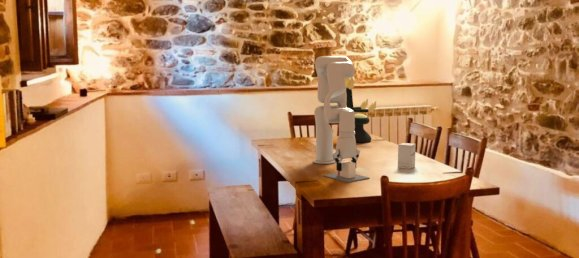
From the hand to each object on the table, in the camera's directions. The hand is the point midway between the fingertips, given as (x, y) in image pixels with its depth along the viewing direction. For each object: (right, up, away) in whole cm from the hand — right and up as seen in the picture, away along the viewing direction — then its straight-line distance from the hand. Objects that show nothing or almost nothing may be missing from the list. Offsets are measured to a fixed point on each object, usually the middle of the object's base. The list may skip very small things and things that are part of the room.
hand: (346, 169), depth 303 cm
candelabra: (+17, +11, +111) cm, 113 cm away
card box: (0, -3, +1) cm, 4 cm away
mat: (0, -4, +1) cm, 4 cm away
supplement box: (+34, -1, +25) cm, 42 cm away
